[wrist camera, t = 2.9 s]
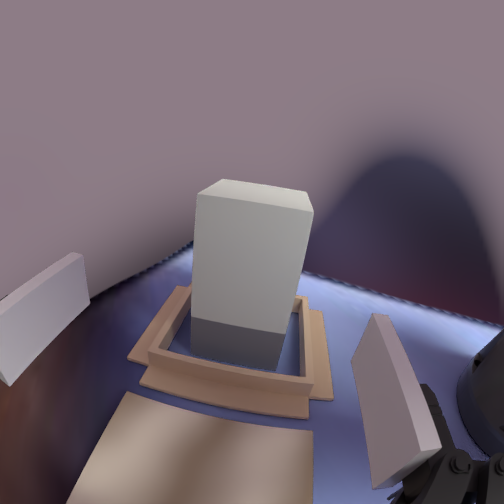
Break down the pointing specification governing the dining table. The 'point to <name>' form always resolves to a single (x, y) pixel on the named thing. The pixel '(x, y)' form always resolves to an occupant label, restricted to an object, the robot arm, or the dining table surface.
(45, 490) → the dining table surface
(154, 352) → the tan square frame
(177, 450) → the birch board
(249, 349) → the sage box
